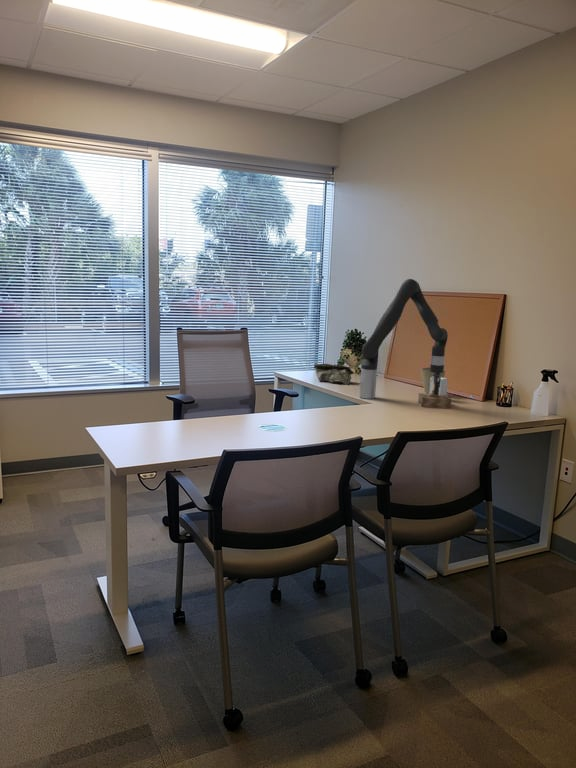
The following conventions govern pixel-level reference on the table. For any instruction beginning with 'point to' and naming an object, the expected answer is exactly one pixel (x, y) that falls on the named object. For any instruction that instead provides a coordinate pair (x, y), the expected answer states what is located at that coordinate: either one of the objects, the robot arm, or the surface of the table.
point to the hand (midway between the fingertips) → (435, 393)
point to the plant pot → (428, 378)
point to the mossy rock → (333, 373)
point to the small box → (442, 386)
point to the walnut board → (434, 401)
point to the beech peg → (433, 391)
